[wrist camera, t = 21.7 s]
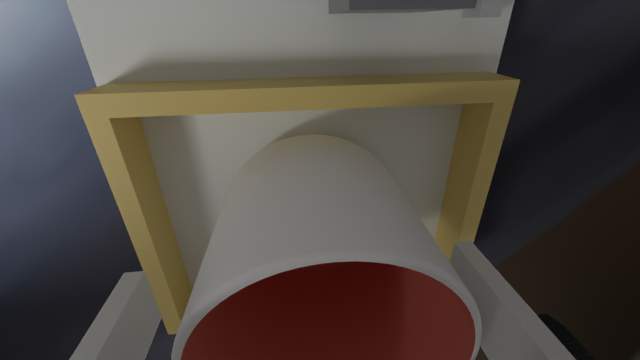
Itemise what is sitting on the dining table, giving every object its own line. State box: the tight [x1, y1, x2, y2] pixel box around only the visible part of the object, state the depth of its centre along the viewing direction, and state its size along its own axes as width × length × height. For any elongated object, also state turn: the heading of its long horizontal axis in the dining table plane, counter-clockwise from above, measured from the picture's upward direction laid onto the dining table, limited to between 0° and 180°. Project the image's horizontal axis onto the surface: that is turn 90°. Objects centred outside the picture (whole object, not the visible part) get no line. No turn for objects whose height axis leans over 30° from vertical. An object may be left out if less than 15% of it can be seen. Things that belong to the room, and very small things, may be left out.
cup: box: [171, 134, 482, 360], centre depth 14 cm, size 10×10×10 cm
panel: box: [66, 0, 520, 335], centre depth 14 cm, size 20×32×4 cm, turn 1°
